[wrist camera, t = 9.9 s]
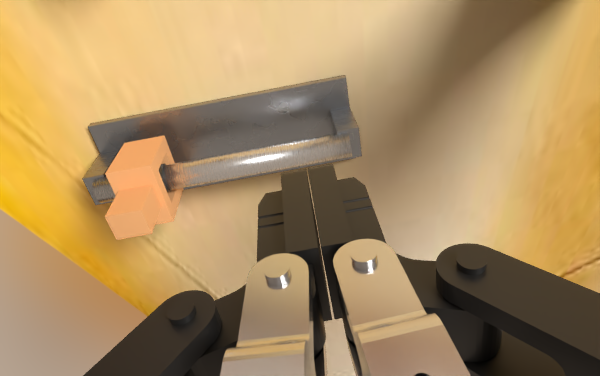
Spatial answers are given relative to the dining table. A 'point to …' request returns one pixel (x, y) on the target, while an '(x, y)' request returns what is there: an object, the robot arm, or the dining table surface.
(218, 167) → the pipe stand
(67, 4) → the dining table surface
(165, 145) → the collar
